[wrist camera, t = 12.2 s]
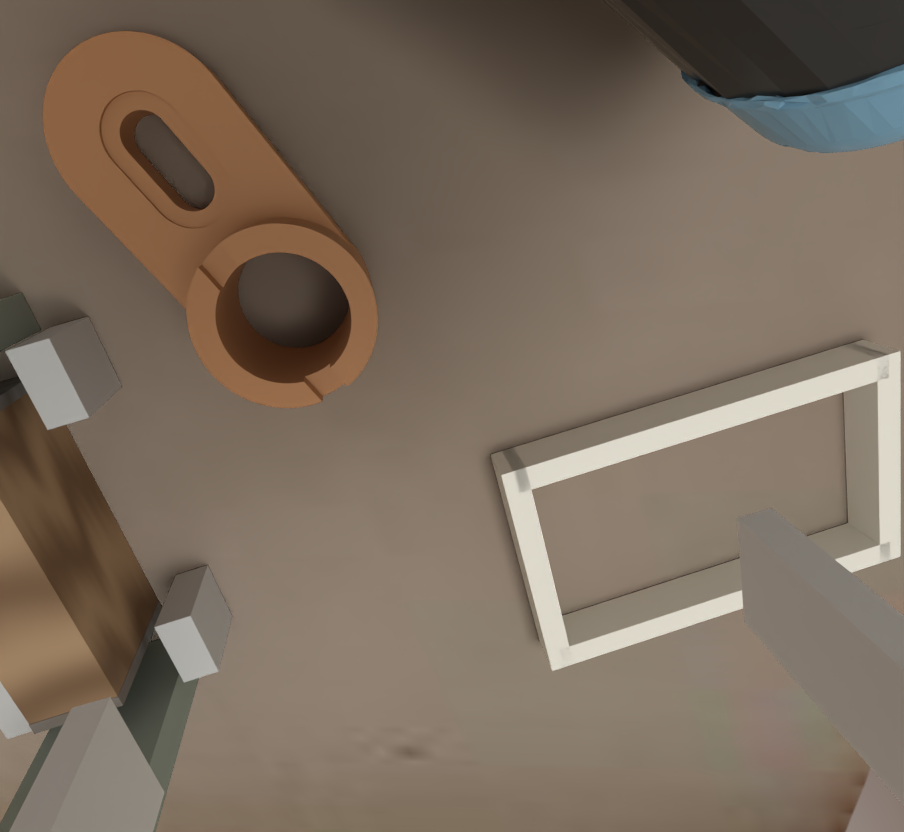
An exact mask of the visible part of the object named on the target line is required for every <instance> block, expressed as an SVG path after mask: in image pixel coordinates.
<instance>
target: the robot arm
mask: <svg viewBox="0 0 904 832" xmlns="http://www.w3.org/2000/svg"><path fill="white" fill-rule="evenodd" d="M604 1H605V2H606V3H607V4H608V5H609V6H610V7H611V8H612V9H614V10H615V11H616V12H617V13H618V14H619V15H620V16H621V17H623V18H624V19H625V20H626V21H627V22H628V23H629V24H630V25H631V26H633V27H634V28H635V29H636V30H637V31H638V32H639V33H640V34H642V35H643V36H644V37H645V38H646V39H647V40H648V41H649V42H650V43H652V44H653V45H654V46H655V47H656V48H657V49H658V50H659V51H660V52H662V53H663V54H664V55H665V56H666V57H667V58H668V59H669V60H671V61H672V62H673V63H674V64H675V65H676V66H677V67H678V68H679V69H680V70H681V74H682V78H683V79H684V81H685V82H686V83H687V84H688V85H689V86H690V87H691V88H692V89H693V90H694V91H695V92H697V93H698V94H700V95H701V96H702V97H704V98H705V99H708V100H710V101H712V102H716V103H718V104H721V105H723V106H725V107H726V108H728V109H729V110H730V111H731V112H733V113H734V114H735V115H736V116H738V117H739V118H740V119H741V120H743V121H744V122H745V123H746V124H748V125H749V126H750V127H751V128H753V129H754V130H755V131H756V132H758V133H759V134H760V135H762V136H763V137H765V138H766V139H768V140H770V141H772V142H774V143H776V144H779V145H782V146H790V147H793V148H797V149H801V150H804V151H807V152H819V153H834V152H847V151H857V150H863V149H869V148H874V147H878V146H882V145H886V144H890V143H894V142H897V141H901V140H904V0H604ZM737 526H738V541H739V555H740V569H741V584H742V598H743V612H744V622H745V623H746V624H747V625H748V626H749V628H750V629H751V630H752V631H753V632H754V633H755V635H756V636H757V637H758V638H759V639H760V640H761V642H762V643H763V644H764V645H765V646H766V647H767V648H768V650H769V651H770V652H771V653H772V654H773V655H774V657H775V658H776V659H777V660H778V661H779V662H780V664H781V665H782V666H783V667H784V668H785V669H786V670H787V672H788V673H789V674H790V675H791V676H792V677H793V679H794V680H795V681H796V682H797V683H798V684H799V686H800V687H801V688H802V689H803V690H804V691H805V692H806V694H807V695H808V696H809V697H810V698H811V699H812V701H813V702H814V703H815V704H816V705H817V706H818V708H819V709H820V710H821V711H822V712H823V713H824V714H825V716H826V717H827V718H828V719H829V720H830V721H831V723H832V724H833V725H834V726H835V727H836V728H837V730H838V731H839V732H840V733H841V734H842V735H843V736H844V738H845V739H846V740H847V741H848V742H849V743H850V745H851V746H852V747H853V748H854V749H855V750H856V752H857V753H858V754H859V755H860V756H861V757H862V758H863V760H864V761H865V762H866V763H867V764H868V765H869V767H870V768H871V769H872V770H873V771H874V772H875V773H876V775H877V776H878V777H879V778H880V779H881V780H882V782H883V783H884V784H885V785H886V786H887V787H888V788H889V790H890V791H891V792H892V793H893V794H894V795H895V797H896V798H897V799H898V800H899V801H900V802H901V803H902V805H903V806H904V616H903V615H902V614H901V613H900V612H899V611H897V610H896V609H895V608H894V607H892V606H891V605H890V604H889V603H888V602H886V601H885V600H884V599H883V598H881V597H880V596H879V595H878V594H876V593H875V592H874V591H873V590H872V589H870V588H869V587H868V586H867V585H865V584H864V583H863V582H862V581H861V580H859V579H858V578H857V577H856V576H854V575H853V574H852V573H851V572H849V571H848V570H847V569H846V568H845V567H843V566H842V565H841V564H840V563H838V562H837V561H836V560H835V559H834V558H832V557H831V556H830V555H829V554H827V553H826V552H825V551H824V550H822V549H821V548H820V547H819V546H818V545H816V544H815V543H814V542H813V541H811V540H810V539H809V538H808V537H807V536H805V535H804V534H803V533H802V532H800V531H799V530H798V529H797V528H795V527H794V526H793V525H792V524H791V523H789V522H788V521H787V520H786V519H784V518H783V517H782V516H781V515H780V514H778V513H777V512H776V511H775V510H773V509H772V508H770V509H766V510H763V511H759V512H756V513H752V514H749V515H745V516H742V517H738V518H737ZM164 793H165V792H164V790H163V789H162V787H161V785H160V783H159V781H158V780H157V778H156V776H155V774H154V773H153V771H152V769H151V767H150V766H149V764H148V762H147V760H146V759H145V757H144V755H143V753H142V752H141V750H140V748H139V746H138V745H137V743H136V741H135V739H134V738H133V736H132V734H131V732H130V731H129V729H128V727H127V725H126V724H125V722H124V720H123V718H122V717H121V715H120V713H119V711H118V710H117V708H116V706H115V704H114V702H113V701H112V699H111V697H108V698H105V699H101V700H98V701H94V702H91V703H87V704H84V705H80V706H77V707H73V708H71V710H70V712H69V714H68V716H67V718H66V720H65V722H64V724H63V726H62V728H61V730H60V732H59V734H58V736H57V738H56V740H55V742H54V744H53V746H52V748H51V750H50V752H49V754H48V756H47V758H46V760H45V762H44V764H43V766H42V768H41V770H40V772H39V774H38V776H37V778H36V779H35V781H34V783H33V785H32V787H31V789H30V791H29V793H28V795H27V797H26V799H25V801H24V803H23V805H22V807H21V809H20V811H19V813H18V815H17V817H16V819H15V821H14V823H13V825H12V827H11V829H10V831H9V832H153V830H154V827H155V823H156V820H157V817H158V813H159V810H160V806H161V803H162V799H163V796H164Z"/></svg>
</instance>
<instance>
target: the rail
mask: <svg viewBox="0 0 904 832" xmlns="http://www.w3.org/2000/svg"><path fill="white" fill-rule="evenodd" d="M161 609H162V606H161V604H160V602H159V601H158V599H157V597H156V595H155V593H154V591H153V589H152V587H151V586H150V584H149V582H148V580H147V578H146V576H145V574H144V572H143V570H142V569H141V567H140V565H139V563H138V561H137V559H136V557H135V555H134V553H133V551H132V550H131V548H130V546H129V544H128V542H127V540H126V538H125V536H124V534H123V532H122V531H121V529H120V527H119V525H118V523H117V521H116V519H115V517H114V515H113V513H112V512H111V510H110V508H109V506H108V504H107V502H106V500H105V498H104V496H103V494H102V493H101V491H100V489H99V487H98V485H97V483H96V481H95V479H94V477H93V475H92V474H91V472H90V470H89V468H88V466H87V464H86V462H85V460H84V458H83V456H82V455H81V453H80V451H79V449H78V447H77V445H76V443H75V441H74V439H73V438H72V436H71V434H70V432H69V430H68V428H67V426H66V425H63V426H60V427H56V428H53V429H49V430H47V428H46V426H45V424H44V422H43V421H42V419H41V417H40V415H39V413H38V411H37V410H36V408H35V406H34V404H33V402H32V400H31V398H30V397H29V395H28V393H27V391H26V389H25V387H24V385H23V384H22V382H21V380H20V378H19V377H16V378H13V379H9V380H6V381H2V382H0V682H1V683H2V685H3V686H4V688H5V689H6V691H7V692H8V694H9V695H10V697H11V698H12V700H13V701H14V703H15V704H16V706H17V707H18V709H19V710H20V711H21V713H22V714H23V716H24V717H25V719H26V720H27V722H28V723H29V727H30V728H31V730H32V731H33V732H34V734H36V733H39V732H42V731H45V730H48V729H51V728H54V727H57V726H61V725H63V724H64V722H65V720H66V718H67V716H68V714H69V712H70V710H71V708H73V707H77V706H80V705H84V704H87V703H91V702H94V701H98V700H101V699H105V698H108V697H111V699H112V701H113V702H114V704H115V706H116V708H117V707H120V706H123V704H124V702H125V700H126V697H127V695H128V692H129V690H130V687H131V685H132V683H133V680H134V678H135V675H136V673H137V670H138V668H139V666H140V663H141V661H142V658H143V656H144V653H145V651H146V649H147V646H148V644H149V641H150V639H151V636H152V634H153V632H154V629H155V628H154V626H155V624H156V622H157V619H158V617H159V614H160V612H161Z"/></svg>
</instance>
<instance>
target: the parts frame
mask: <svg viewBox="0 0 904 832" xmlns="http://www.w3.org/2000/svg"><path fill="white" fill-rule="evenodd" d="M842 392H843V397H844V425H845V453H846V481H847V509H848V523H846V524H843V525H840V526H837V527H834V528H831V529H828V530H825V531H822V532H818V533H815V534H812V535H809V536H807V537H808V538H809V539H810V540H811V541H813V542H814V543H815V544H816V545H818V546H819V547H820V548H821V549H822V550H824V551H825V552H826V553H827V554H829V555H830V556H831V557H832V558H834V559H835V560H836V561H837V562H838V563H840V564H841V565H842V566H843V567H845V568H846V569H847V570H848V571H849V572H854V571H857V570H860V569H863V568H867V567H870V566H873V565H876V564H879V563H882V562H885V561H888V560H891V559H894V558H897V557H900V351H899V350H896V349H892V348H889V347H886V346H883V345H880V344H877V343H873V342H870V341H867V340H864V339H863V340H860V341H856V342H853V343H850V344H847V345H843V346H840V347H837V348H834V349H830V350H827V351H824V352H821V353H818V354H814V355H811V356H808V357H805V358H801V359H798V360H795V361H792V362H788V363H785V364H782V365H779V366H775V367H772V368H769V369H766V370H763V371H759V372H756V373H753V374H750V375H746V376H743V377H740V378H737V379H733V380H730V381H727V382H724V383H720V384H717V385H714V386H711V387H707V388H704V389H701V390H698V391H695V392H691V393H688V394H685V395H682V396H678V397H675V398H672V399H669V400H665V401H662V402H659V403H656V404H652V405H649V406H646V407H643V408H640V409H636V410H633V411H630V412H627V413H623V414H620V415H617V416H614V417H610V418H607V419H604V420H601V421H597V422H594V423H591V424H588V425H585V426H581V427H578V428H575V429H572V430H568V431H565V432H562V433H559V434H555V435H552V436H549V437H546V438H542V439H539V440H536V441H533V442H530V443H526V444H523V445H520V446H517V447H513V448H510V449H507V450H504V451H500V452H497V453H494V454H491V459H492V463H493V467H494V471H495V474H496V478H497V482H498V486H499V489H500V493H501V497H502V501H503V505H504V508H505V512H506V516H507V520H508V524H509V527H510V531H511V535H512V539H513V543H514V546H515V550H516V554H517V558H518V561H519V565H520V569H521V573H522V577H523V580H524V584H525V588H526V592H527V596H528V599H529V603H530V607H531V611H532V614H533V618H534V622H535V626H536V630H537V633H538V637H539V641H540V643H541V646H542V648H543V650H544V653H545V655H546V658H547V660H548V662H549V665H550V667H551V669H552V671H554V670H557V669H560V668H563V667H566V666H569V665H572V664H575V663H578V662H581V661H584V660H587V659H590V658H593V657H596V656H599V655H602V654H605V653H608V652H611V651H614V650H617V649H620V648H624V647H627V646H630V645H633V644H636V643H639V642H642V641H645V640H648V639H651V638H654V637H657V636H660V635H663V634H666V633H669V632H672V631H675V630H678V629H681V628H684V627H687V626H690V625H693V624H696V623H699V622H702V621H706V620H709V619H712V618H715V617H718V616H721V615H724V614H727V613H730V612H733V611H736V610H739V609H742V608H743V598H742V584H741V569H740V558H738V559H735V560H732V561H729V562H726V563H723V564H720V565H717V566H714V567H711V568H708V569H705V570H701V571H698V572H695V573H692V574H689V575H686V576H683V577H680V578H677V579H674V580H671V581H668V582H664V583H661V584H658V585H655V586H652V587H649V588H646V589H643V590H640V591H637V592H634V593H631V594H628V595H624V596H621V597H618V598H615V599H612V600H609V601H606V602H603V603H600V604H597V605H594V606H591V607H587V608H584V609H581V610H578V611H575V612H572V613H569V614H566V615H563V616H562V614H561V610H560V605H559V601H558V597H557V593H556V589H555V585H554V581H553V577H552V573H551V568H550V564H549V560H548V556H547V552H546V548H545V544H544V540H543V536H542V531H541V527H540V523H539V519H538V515H537V511H536V507H535V503H534V499H533V494H532V489H535V488H538V487H541V486H545V485H548V484H551V483H554V482H557V481H561V480H564V479H567V478H570V477H573V476H577V475H580V474H583V473H586V472H589V471H593V470H596V469H599V468H602V467H605V466H609V465H612V464H615V463H618V462H621V461H624V460H628V459H631V458H634V457H637V456H640V455H644V454H647V453H650V452H653V451H656V450H660V449H663V448H666V447H669V446H672V445H676V444H679V443H682V442H685V441H688V440H692V439H695V438H698V437H701V436H704V435H708V434H711V433H714V432H717V431H720V430H723V429H727V428H730V427H733V426H736V425H739V424H743V423H746V422H749V421H752V420H755V419H759V418H762V417H765V416H768V415H771V414H775V413H778V412H781V411H784V410H787V409H791V408H794V407H797V406H800V405H803V404H807V403H810V402H813V401H816V400H819V399H823V398H826V397H829V396H832V395H835V394H838V393H842Z"/></svg>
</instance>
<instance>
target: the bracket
mask: <svg viewBox="0 0 904 832" xmlns="http://www.w3.org/2000/svg"><path fill="white" fill-rule="evenodd" d="M151 114H156V115H158V116H159V117H160V118H161V119H162V120H163V121H164V122H165V123H166V124H167V126H168V127H169V128H170V129H171V130H172V131H173V133H174V134H175V135H176V136H177V137H178V138H179V140H180V141H181V142H182V143H183V144H184V145H185V147H186V148H187V149H188V150H189V151H190V152H191V153H192V155H193V156H194V157H195V158H196V159H197V160H198V162H199V163H200V164H201V165H202V166H203V167H204V169H205V170H206V171H207V172H208V173H209V175H210V176H211V178H212V180H213V183H214V187H215V193H214V197H213V200H212V202H211V203H210V204H209V206H207V207H206V208H205V209H197V208H194V207H192V206H190V205H189V204H187V203H186V202H185V201H184V200H183V199H182V198H181V197H180V195H179V194H178V193H177V192H176V191H175V190H174V189H173V188H172V186H171V185H170V184H169V183H168V182H167V181H166V180H165V179H164V177H163V176H162V175H161V174H160V173H159V172H158V171H157V170H156V169H155V167H154V166H153V165H152V164H151V163H150V162H149V161H148V160H147V158H146V157H145V156H144V155H143V154H142V153H141V152H140V150H139V149H138V147H137V145H136V142H135V136H134V133H135V128H136V125H137V123H138V122H139V121H140V120H141V119H142V118H143V117H145V116H147V115H151ZM43 128H44V135H45V139H46V143H47V147H48V150H49V152H50V155H51V158H52V160H53V162H54V164H55V166H56V168H57V170H58V171H59V173H60V175H61V176H62V178H63V179H64V181H65V182H66V183H67V185H68V186H69V187H70V188H71V190H72V191H73V192H74V193H75V194H76V195H77V196H78V197H79V198H80V199H81V200H82V202H83V203H84V204H85V205H86V206H87V207H88V208H89V209H90V210H91V211H92V212H93V213H94V214H95V215H96V216H97V217H98V218H99V219H100V220H101V221H102V222H103V223H104V224H105V225H106V227H107V228H108V229H109V230H110V231H111V232H112V233H113V234H114V235H115V236H116V237H117V238H118V239H119V240H120V241H121V242H122V243H123V244H124V245H125V246H126V247H127V248H128V249H129V250H130V251H131V253H132V254H133V255H134V256H135V257H136V258H137V259H138V260H139V261H140V262H141V263H142V264H143V265H144V266H145V267H146V268H147V269H148V270H149V271H150V272H151V273H152V274H153V275H154V276H155V278H156V279H157V280H158V281H159V282H160V283H161V284H162V285H163V286H164V287H165V288H166V289H167V290H168V291H169V292H170V293H171V294H172V295H173V296H174V297H175V298H176V299H177V300H178V301H179V302H180V304H181V305H182V306H183V307H184V308H185V309H186V311H187V324H188V330H189V334H190V338H191V340H192V343H193V346H194V348H195V350H196V352H197V354H198V356H199V358H200V359H201V361H202V363H203V364H204V366H205V367H206V368H207V369H208V371H209V372H210V373H211V374H212V375H213V376H214V377H215V378H216V379H217V380H218V381H219V382H220V383H221V384H222V385H224V386H225V387H226V388H228V389H229V390H230V391H232V392H233V393H235V394H237V395H239V396H241V397H242V398H245V399H247V400H249V401H252V402H255V403H258V404H261V405H265V406H270V407H278V408H297V407H304V406H309V405H313V404H317V403H320V402H322V399H323V396H324V395H326V394H329V393H331V392H332V391H334V390H336V389H338V388H339V387H340V386H342V385H343V384H345V385H346V386H348V385H349V384H351V383H352V382H353V381H354V380H355V379H356V378H357V377H358V376H359V374H360V373H361V372H362V370H363V369H364V367H365V366H366V364H367V362H368V360H369V359H370V356H371V354H372V351H373V349H374V345H375V342H376V337H377V331H378V311H377V304H376V299H375V296H374V292H373V288H372V284H371V280H370V277H369V273H368V270H367V267H366V265H365V263H364V261H363V259H362V257H361V255H360V254H359V252H358V250H357V249H356V248H355V246H354V245H353V244H352V243H351V241H350V240H349V239H348V238H347V236H346V235H345V234H344V233H343V231H342V230H341V229H340V228H339V226H338V225H337V224H336V223H335V222H334V220H333V219H332V218H331V217H330V215H329V214H328V213H327V212H326V210H325V209H324V208H323V207H322V205H321V204H320V203H319V202H318V200H317V199H316V198H315V197H314V195H313V194H312V193H311V192H310V190H309V189H308V188H307V187H306V186H305V184H304V183H303V182H302V181H301V179H300V178H299V177H298V176H297V174H296V173H295V172H294V171H293V169H292V168H291V167H290V166H289V164H288V163H287V162H286V161H285V159H284V158H283V157H282V156H281V154H280V153H279V152H278V151H277V150H276V148H275V147H274V146H273V145H272V143H271V142H270V141H269V140H268V138H267V137H266V136H265V135H264V133H263V132H262V131H261V130H260V128H259V127H258V126H257V125H256V123H255V122H254V121H253V120H252V118H251V117H250V116H249V115H248V114H247V112H246V111H245V110H244V109H243V107H242V106H241V105H240V104H239V102H238V101H237V100H236V99H235V97H234V96H233V95H232V94H231V92H230V91H229V90H228V89H227V87H226V86H225V85H224V84H223V83H222V81H221V80H220V79H219V78H218V77H217V76H216V75H215V74H214V73H213V72H212V71H211V70H210V69H209V68H208V67H207V66H205V65H204V64H203V63H202V62H200V61H199V60H198V59H197V58H195V57H194V56H193V55H191V54H190V53H189V52H187V51H186V50H184V49H183V48H181V47H180V46H178V45H176V44H174V43H172V42H170V41H168V40H166V39H163V38H160V37H158V36H155V35H151V34H147V33H142V32H135V31H117V32H109V33H104V34H100V35H97V36H95V37H92V38H90V39H88V40H86V41H84V42H82V43H80V44H79V45H77V46H76V47H74V48H73V49H72V50H71V51H70V52H69V53H68V54H66V55H65V57H64V58H63V59H62V60H61V61H60V62H59V64H58V65H57V67H56V68H55V70H54V72H53V74H52V76H51V78H50V80H49V82H48V85H47V88H46V91H45V96H44V102H43ZM277 252H282V253H292V254H297V255H301V256H303V257H306V258H309V259H311V260H313V261H315V262H317V263H318V264H320V265H321V266H323V267H324V268H325V269H326V270H328V271H329V272H330V273H331V274H332V275H333V276H334V277H335V279H336V280H337V281H338V282H339V284H340V285H341V287H342V288H343V290H344V292H345V294H346V297H347V299H348V302H349V308H348V312H347V315H346V317H345V319H344V321H343V323H342V324H341V326H340V327H339V329H338V330H337V331H336V332H335V333H334V334H333V335H332V336H330V337H329V338H328V339H326V340H324V341H323V342H321V343H318V344H316V345H313V346H309V347H303V348H291V347H285V346H281V345H278V344H275V343H273V342H270V341H269V340H267V339H265V338H264V337H262V336H261V335H260V334H259V333H257V332H256V331H255V330H254V329H253V328H252V327H251V325H250V324H249V323H248V321H247V320H246V318H245V316H244V314H243V312H242V309H241V307H240V303H239V298H238V282H239V277H240V274H241V271H242V269H243V267H244V265H245V263H246V262H247V261H248V260H249V259H252V258H254V257H256V256H260V255H263V254H268V253H277Z"/></svg>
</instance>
